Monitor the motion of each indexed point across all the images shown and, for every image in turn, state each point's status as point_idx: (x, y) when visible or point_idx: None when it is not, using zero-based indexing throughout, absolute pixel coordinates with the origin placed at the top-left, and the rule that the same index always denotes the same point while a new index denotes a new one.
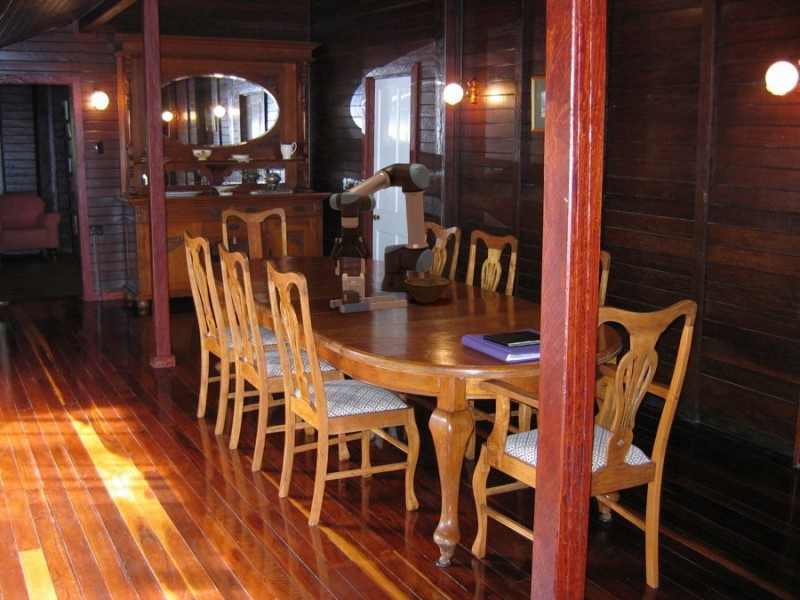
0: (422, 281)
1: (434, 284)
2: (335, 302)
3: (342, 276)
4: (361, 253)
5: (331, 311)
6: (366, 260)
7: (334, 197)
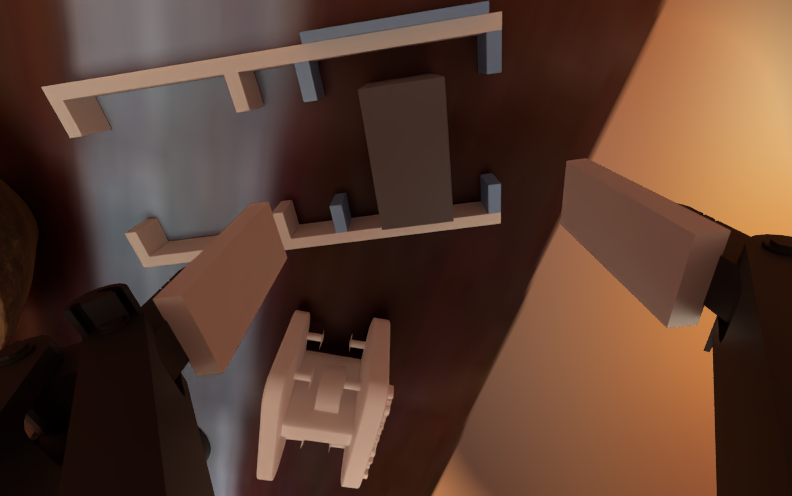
0: None
1: None
2: (473, 211)
3: (374, 454)
4: (152, 386)
5: (534, 87)
6: (147, 303)
7: None
